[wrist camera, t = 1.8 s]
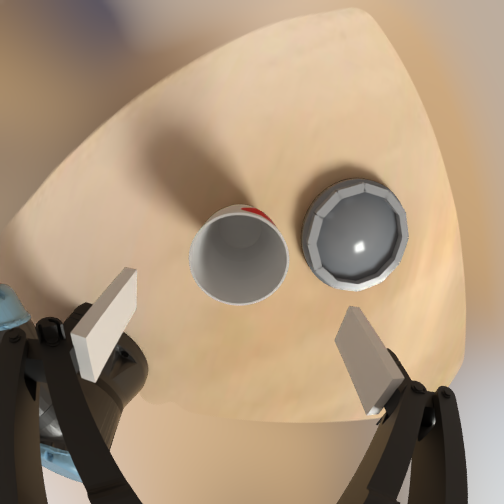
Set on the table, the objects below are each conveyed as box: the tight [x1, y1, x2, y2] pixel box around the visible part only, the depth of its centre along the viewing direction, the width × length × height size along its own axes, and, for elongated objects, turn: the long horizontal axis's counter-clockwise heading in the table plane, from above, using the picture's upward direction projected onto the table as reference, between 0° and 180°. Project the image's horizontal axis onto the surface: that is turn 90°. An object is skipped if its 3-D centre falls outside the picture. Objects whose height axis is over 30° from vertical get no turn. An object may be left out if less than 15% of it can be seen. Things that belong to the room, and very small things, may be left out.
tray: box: [301, 178, 409, 291], centre depth 31 cm, size 14×14×2 cm
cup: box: [189, 204, 289, 305], centre depth 27 cm, size 8×8×10 cm
